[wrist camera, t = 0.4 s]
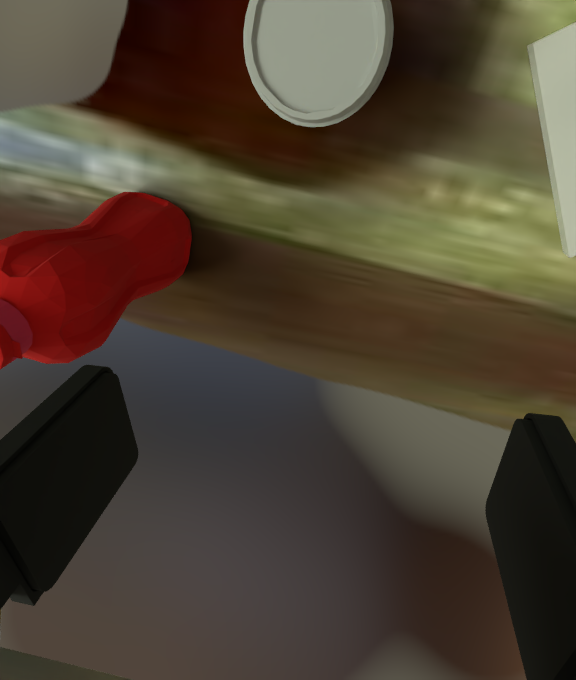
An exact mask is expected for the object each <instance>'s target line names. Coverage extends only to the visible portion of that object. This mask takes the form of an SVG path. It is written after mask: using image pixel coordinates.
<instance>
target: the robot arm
mask: <svg viewBox="0 0 576 680" xmlns="http://www.w3.org/2000/svg"><path fill="white" fill-rule="evenodd" d="M137 458H138V448H137V444H136V441H135V437H134V433H133V430H132V426H131V422H130V419H129V415H128V411H127V408H126V404H125V401H124V397H123V393H122V390H121V386H120V382H119V378H118V376H117V375H116V374H114V373H113V371H112V370H111V369H110V368H109V367H102V366H93V365H85V366H83V367H81V368H80V369H79V370H78V371H77V372H76V373H75V374H73V375H72V376H71V377H70V378H69V379H68V380H67V381H66V382H64V383H63V384H62V385H61V386H60V387H59V388H58V389H57V390H56V391H54V392H53V393H52V394H51V395H50V396H49V397H48V398H47V399H46V400H44V401H43V402H42V403H41V404H40V405H39V406H38V407H37V408H36V409H34V410H33V411H32V412H31V413H30V414H29V415H28V416H27V417H25V418H24V419H23V420H22V421H21V422H20V423H19V424H18V425H17V426H15V427H14V428H13V429H12V430H11V431H10V432H9V433H8V434H6V435H5V436H4V437H3V438H2V439H1V440H0V628H1V609H2V607H3V605H4V604H5V603H6V601H7V600H8V599H9V597H10V598H11V600H12V601H15V602H19V603H24V604H28V605H33V606H34V605H35V604H36V602H37V601H38V599H39V598H40V596H41V595H42V594H43V592H44V591H48V590H49V589H50V588H52V587H53V585H54V584H55V583H56V581H57V580H58V578H59V577H60V575H61V574H62V572H63V571H64V569H65V568H66V566H67V565H68V563H69V562H70V561H71V559H72V558H73V556H74V554H75V553H76V552H77V550H78V549H79V547H80V546H81V544H82V543H83V541H84V540H85V538H86V537H87V535H88V534H89V532H90V531H91V529H92V528H93V526H94V525H95V523H96V522H97V520H98V519H99V517H100V516H101V514H102V513H103V511H104V510H105V508H106V507H107V505H108V504H109V503H110V501H111V499H112V498H113V497H114V495H115V494H116V492H117V491H118V489H119V487H120V486H121V485H122V483H123V482H124V480H125V479H126V477H127V476H128V474H129V473H130V471H131V470H132V468H133V467H134V465H135V464H136V461H137ZM486 518H487V523H488V527H489V530H490V534H491V539H492V543H493V546H494V550H495V554H496V558H497V563H498V567H499V570H500V575H501V578H502V583H503V587H504V590H505V595H506V599H507V603H508V607H509V611H510V615H511V619H512V623H513V627H514V631H515V634H516V638H517V643H518V647H519V650H520V655H521V659H522V662H523V666H524V670H525V674H526V678H527V680H576V443H575V441H574V439H573V438H572V436H571V434H570V432H569V431H568V429H567V427H566V425H565V423H564V422H563V420H562V419H561V418H560V417H558V416H552V415H543V414H533V413H528V414H526V415H525V417H524V419H517V420H516V421H515V422H514V425H513V427H512V430H511V433H510V436H509V439H508V442H507V444H506V447H505V450H504V453H503V456H502V459H501V462H500V464H499V467H498V470H497V473H496V476H495V478H494V481H493V484H492V487H491V490H490V493H489V495H488V498H487V501H486ZM0 630H1V629H0ZM0 680H132V679H128V678H124V677H120V676H115V675H111V674H108V673H104V672H100V671H96V670H91V669H87V668H83V667H79V666H75V665H71V664H67V663H63V662H59V661H55V660H51V659H47V658H42V657H38V656H35V655H31V654H26V653H22V652H18V651H14V650H10V649H6V648H2V647H0Z"/></svg>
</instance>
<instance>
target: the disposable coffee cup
mask: <svg viewBox="0 0 576 680" xmlns="http://www.w3.org/2000/svg"><path fill="white" fill-rule="evenodd" d="M393 32H394V25H393V15H392V6H391V3H390V0H250V2H249V5H248V9H247V13H246V18H245V25H244V53H245V60H246V65H247V68H248V71H249V74H250V77H251V80H252V83H253V85H254V87H255V88H256V90H257V92H258V94H259V95H260V97H261V98H262V100H263V101H264V102H265V103H266V104H267V106H268V107H269V108H270V109H271V110H273V111H274V112H275V113H276V114H278V115H279V116H280V117H282V118H283V119H285V120H287V121H290V122H292V123H294V124H296V125H302V126H307V127H323V126H328V125H332V124H335V123H338V122H340V121H342V120H344V119H346V118H348V117H350V116H351V115H352V114H354V113H355V112H356V111H358V110H359V109H360V108H361V107H362V106H363V105H364V104H365V103H366V102H367V101H368V100H369V99H370V97H371V96H372V95H373V93H374V92H375V91H376V89H377V87H378V85H379V84H380V82H381V80H382V78H383V75H384V73H385V71H386V68H387V66H388V63H389V58H390V54H391V50H392V43H393Z"/></svg>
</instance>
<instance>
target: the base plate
mask: <svg viewBox="0 0 576 680" xmlns="http://www.w3.org/2000/svg"><path fill="white" fill-rule="evenodd" d="M527 49H528V55H529V60H530V66H531V72H532V78H533V83H534V89H535V95H536V100H537V106H538V112H539V118H540V123H541V129H542V135H543V140H544V146H545V152H546V158H547V163H548V169H549V175H550V180H551V186H552V192H553V197H554V203H555V209H556V215H557V220H558V226H559V232H560V237H561V243H562V249H563V253H564V254H565V255H567V256H568V257H569V258H570V257H573V256H576V22H574V23H572V24H570V25H568V26H566V27H564V28H562V29H559V30H557V31H555V32H553V33H551V34H549V35H547V36H545V37H543V38H541V39H539V40H537V41H535V42H533V43H531V44H529V45H527Z"/></svg>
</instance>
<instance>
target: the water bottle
mask: <svg viewBox="0 0 576 680" xmlns="http://www.w3.org/2000/svg"><path fill="white" fill-rule="evenodd" d="M191 240H192V234H191V227H190V221H189V219H188V218H187V216H186V215H185V213H184V212H183V210H182V209H180V208H179V207H177V206H176V205H174V204H172V203H171V202H169V201H167V200H164V199H161V198H158V197H154V196H152V195H149V194H146V193H138V192H123V193H121V194H118V195H116V196H114V197H112V198H110V199H108V200H106V201H105V202H104V203H102V204H101V205H100V206H99V207H98V208H97V209H96V210H95V211H94V212H93V213H92V214H91V215H89V216H88V217H87V218H86V219H85V220H84V221H83V222H82V223H81V224H80V225H78V226H75V227H72V228H69V229H54V230H36V231H23V232H21V233H18V234H15V235H13V236H10V237H8V238H5V239H2V240H0V369H2V368H3V367H5V366H6V365H7V364H9V363H11V362H12V361H14V360H15V359H16V358H21V359H22V358H23V357H25V358H29V359H32V360H36V361H39V362H42V363H46V364H50V363H69V362H71V361H73V360H75V359H77V358H79V357H81V356H83V355H85V354H86V353H89V352H91V351H93V350H95V349H96V348H99V347H100V346H102V344H103V343H104V342H105V341H106V339H107V338H108V336H109V334H110V333H111V331H112V330H113V328H114V326H115V325H116V323H117V322H118V320H119V318H120V317H121V315H122V313H123V312H124V310H125V309H126V307H127V305H128V304H129V303H130V302H132V301H133V300H135V299H137V298H140V297H143V296H145V295H148V294H151V293H154V292H156V291H159V290H161V289H163V288H165V287H167V286H169V285H170V284H172V283H173V282H174V281H176V280H177V279H178V278H179V277H180V276H181V275H182V274H183V273H184V271H185V268H186V266H187V264H188V261H189V255H190V247H191Z"/></svg>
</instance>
